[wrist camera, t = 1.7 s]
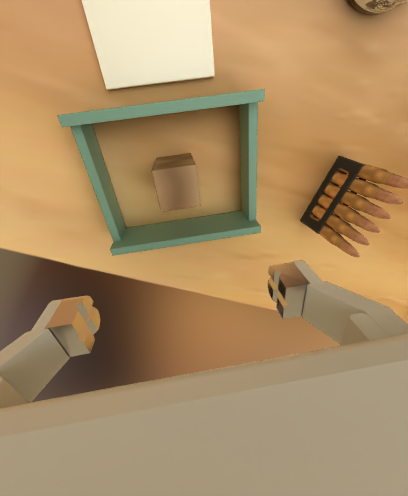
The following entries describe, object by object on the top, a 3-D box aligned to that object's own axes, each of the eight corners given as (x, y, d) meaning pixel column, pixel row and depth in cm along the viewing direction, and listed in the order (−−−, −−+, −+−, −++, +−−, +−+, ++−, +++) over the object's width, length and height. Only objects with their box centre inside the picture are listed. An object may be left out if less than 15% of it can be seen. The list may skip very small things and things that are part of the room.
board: (201, -96, 19) (202, -105, 18) (213, 77, 26) (214, 75, 25) (61, -83, 19) (55, -93, 18) (108, 89, 25) (106, 89, 24)
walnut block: (190, 153, 30) (195, 164, 23) (194, 186, 32) (200, 206, 25) (156, 157, 29) (151, 170, 23) (163, 191, 32) (161, 211, 25)
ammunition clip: (308, 223, 37) (359, 264, 27) (299, 220, 37) (348, 261, 27) (348, 159, 33) (428, 180, 22) (338, 155, 32) (416, 174, 22)
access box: (247, 93, 27) (264, 88, 22) (247, 215, 35) (260, 232, 30) (80, 114, 26) (57, 115, 21) (121, 234, 34) (112, 255, 29)
